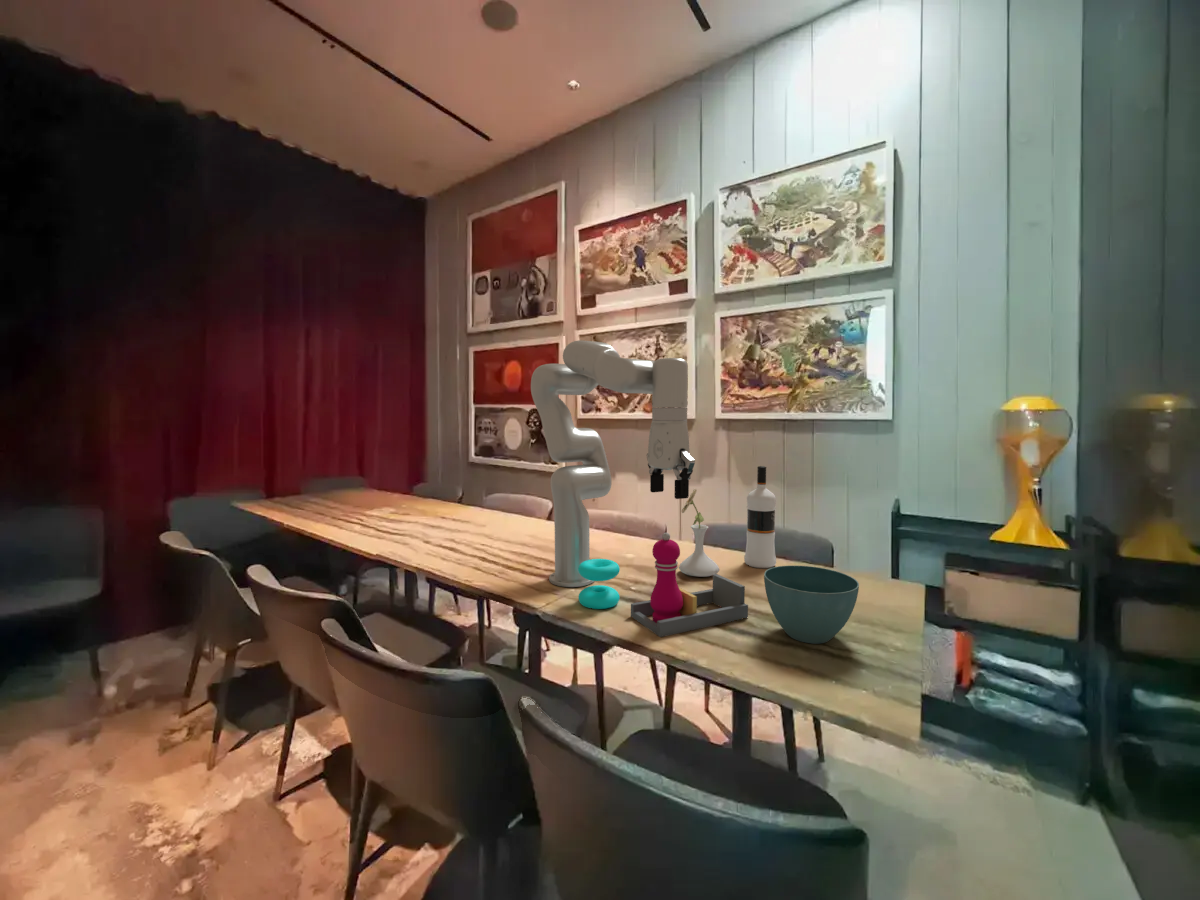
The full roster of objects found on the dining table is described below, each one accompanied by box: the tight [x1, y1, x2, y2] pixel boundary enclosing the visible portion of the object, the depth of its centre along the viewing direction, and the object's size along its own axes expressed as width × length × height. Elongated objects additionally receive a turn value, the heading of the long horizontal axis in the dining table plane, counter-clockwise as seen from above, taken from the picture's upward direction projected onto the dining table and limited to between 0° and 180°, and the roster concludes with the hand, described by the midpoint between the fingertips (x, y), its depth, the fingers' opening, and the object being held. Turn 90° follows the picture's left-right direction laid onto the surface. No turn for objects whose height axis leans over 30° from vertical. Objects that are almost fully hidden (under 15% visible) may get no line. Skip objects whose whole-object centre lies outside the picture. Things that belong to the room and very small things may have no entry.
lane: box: [630, 573, 749, 638], centre depth 122 cm, size 12×23×7 cm, turn 116°
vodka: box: [743, 465, 777, 569], centre depth 162 cm, size 9×9×30 cm
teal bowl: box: [763, 565, 860, 645], centre depth 112 cm, size 18×18×12 cm
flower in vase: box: [678, 488, 720, 578], centre depth 152 cm, size 13×11×25 cm
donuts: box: [577, 558, 621, 610], centre depth 131 cm, size 10×10×10 cm
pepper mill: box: [650, 532, 683, 623], centre depth 118 cm, size 7×7×20 cm
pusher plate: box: [679, 587, 698, 616], centre depth 121 cm, size 9×1×6 cm, turn 26°
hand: (668, 495), depth 118 cm, fingers open, 9 cm apart
